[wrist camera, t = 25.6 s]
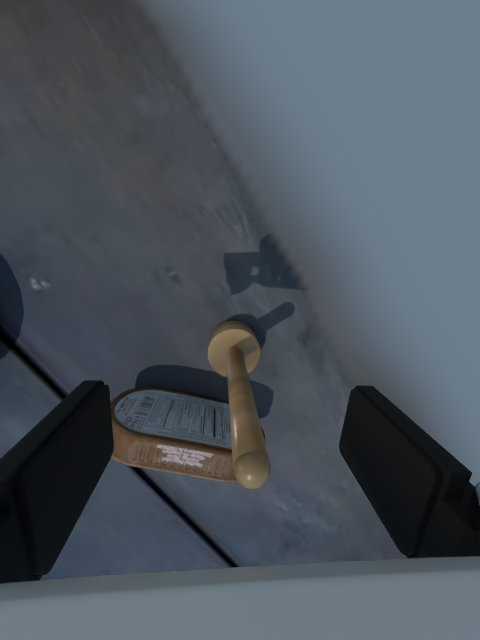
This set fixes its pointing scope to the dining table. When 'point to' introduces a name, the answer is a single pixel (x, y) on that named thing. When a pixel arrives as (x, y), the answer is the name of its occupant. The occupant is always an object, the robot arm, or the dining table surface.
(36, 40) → the dining table surface
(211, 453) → the tin
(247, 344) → the wooden pestle
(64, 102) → the dining table surface
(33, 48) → the dining table surface
